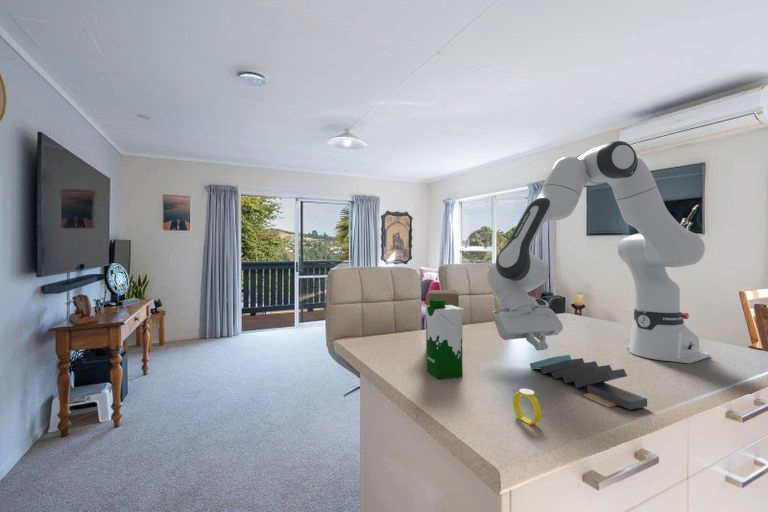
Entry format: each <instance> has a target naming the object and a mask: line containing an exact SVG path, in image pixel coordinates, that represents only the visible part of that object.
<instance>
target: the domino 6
mask: <svg viewBox="0 0 768 512" xmlns="http://www.w3.org/2000/svg"><path fill="white" fill-rule="evenodd" d="M586 387H587V389H586V390H587V393H592V394H594V395H596V396H599V397H601V398H603V399H606V400H608V401H610V402H613V403H615V404H617V405H618V406H620V407H623V408H625V409H627V410H629V411H631V410H634V409H635V410H636V409H640V408H645V407H648V398H646V397H643V396H642V395H638V394H635V393H633V392H630V391H629V390H628V391H627V390H625V389H623V388H620V387H617V386H614V385H613V384H610V383H606V382H602V383H596V384H589V385H587V386H586Z"/></svg>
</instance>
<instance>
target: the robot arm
mask: <svg viewBox="0 0 768 512" xmlns="http://www.w3.org/2000/svg"><path fill="white" fill-rule="evenodd" d="M637 155H638V154H637V153H636V151H635V149H634V148H633V146H632V145H630V144H629V143H628V142H626V141H623V140H616V141H610V142H607V143H605V144H603V145H599V146H596V147H592V148H591V149H589V150H587V151H586V152H584V153H582V154H579V155H578V156H564V157H560V159H558V160H557V161H556V162H555V163H554V164H553V166H552V167H551V169H550V171H549V173H548V175H547V176H546V178H545V180H544V182H543V185H542V186H541V189H540V191H539V193H538V195H537V197H536V198H534V199H533V200H532V201H531V202H530V203H529V204H528V206H527V207H526V209H525V210H524V212H523V214H522V216H521V217H520V219H519V221H518V223H517V225H516V226H515V229H514V231H513V232H512V234H511V236H510V237H509V239H508V241H507V242H506V244H505V245H504V246H503V247H502V248H501V250H500V251H499V253H498V254H497V257H496V260H495V264H492V266H491V267H490V268H489V269H488V271H487V274H486V276H487V277H486V278H487V279H486V280H487V282H488V285H489V287H490V289H491V291H492V294H493V296H495V298H496V299H497V300H498V302H499V306H500V308H501V309H494V311H492V312H491V318H492V319H493V321H494V323H495V327H496V330H497V332H498V335H499V337H500V338H501V339H502V340H505V341H511V340H519V339H526V341H527V342H528V343H529V344H531V345H532V346H533V347H534V349H535V350H536V351H545V350H547V349H549V346H548V343H547V341H546V337H551V336H558V335H559V334H560V333H561V332H562V331H563V329H564V325H563V323H562V320H561V319H560V318H559V317H558V316H557V314H556V312H555V311H553V309H552V308H549V306H550V304H549V302H548V301H547V300H545V299H541V298H537V297H535V296H532V295H529V294H528V293H529V292H532V291H534V290H536V289H538V288H540V287H541V286H544V284H545V283H546V282H547V281H548V279H549V276H550V267H549V266H548V263H547V262H545V261H544V260H542V259H541V258H540V257H538V256H536V255H535V254H533V253H532V252H531V247H532V245H533V243H534V241H535V239H536V237H537V235H538V233H539V232H540V229H542V228H541V227H542V226H543V225H544V224H545V223H546V222H547V221H561V220H564V219H566V218H568V217H570V216H571V215H572V214H573V213H574V211H575V209H576V207H577V206H578V203H579V202H580V201H579V200H580V198H581V195H582V192H583V190H584V188H587V187H588V188H589V187H591V186H597V185H602V184H605V183H607V184H608V185H609V186H610V187H611V189H612V193H613V197H614V198H615V201H616V203H617V206H618V209H619V212H620V214H621V217H622V219H623V221H624V222H625V223H626V224H627V225H629V226H631V227H633V228H634V229H635V230H636V231H637V232H638V233H634V234H631V235H627V236H624V238H622V239H621V240H620V241H619V244H618V245H617V254H618V256H619V258H620V260H621V261H623V262H624V263H625V264H626V265H627V268H628V269H629V271H630V274H631V276H632V278H633V282H634V288H635V291H634V292H635V308H634V310H633V319H634V323H633V324H632V325H631V330H630V339H629V344H626V349H628V350H629V353H631V354H633V355H635V356H638V357H643V358H646V359H650V360H651V359H652V360H657V361H666V362H677V363H683V364H693V363H696V362H698V361H701V360H704V359H707V358H710V357H711V355H710V353H709V352H706V351H704V350H701V349H700V339H699V336H697V335H696V334H695V333H694V332H693V331H692V330H690V329H689V328H688V327H687V326H686V325H685V321H684V320H689V318H690V314H689V312H682V311H680V307H681V305H680V304H681V303H680V300H681V299H680V297H681V296H680V295H681V293H680V292H681V291H680V290H681V289H680V287H679V285H678V284H677V283H676V282H675V281H674V280H672V279H671V278H670V277H669V274H668V272H667V270H666V268H682V267H688V266H692V265H695V264H697V263H699V262H700V261H701V260H702V259H703V257H704V255H705V251H706V246H705V243H704V240H703V239H702V238H701V236H699V235H698V234H697V233H696V232H693V231H690V230H689V229H687V228H686V227H684V226H683V225H682V224H680V223H679V222H678V221H677V219H675V217H674V216H673V215H672V213H670V211H669V210H668V208H667V206H666V204H665V202H664V200H663V197H662V195H661V193H660V190H659V187H658V185H657V182H656V180H655V178H654V176H653V173H652V172H651V170H650V169H649V168H648V166H647V164H646V163H645V161H644V160H643V159H642V158H640V157H638V156H637Z"/></svg>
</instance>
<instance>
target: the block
mask: <svg viewBox="0 0 768 512" xmlns="http://www.w3.org/2000/svg"><path fill="white" fill-rule="evenodd" d="M425 297H426V298H425V301H426V302H425V304H426V305H425V307H426V306H430V299H444V300H445V305H453V306H456V307H459V303H460V302H459V300H460V299H459V291H458V290H451V289H450V290H448V289H445V290H444V289H431V290H428V292H427V293H426V295H425ZM459 308H460V307H459ZM425 317H426V318H425V319H426V320H425V322H426V323H425V324H426V326H425V331H426V332H425V339H426V341H425V342H426V343H425V344H426V345H425V346H426V348H425V350H426V351H425V352H426V354H427V315H426V314H425Z"/></svg>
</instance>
